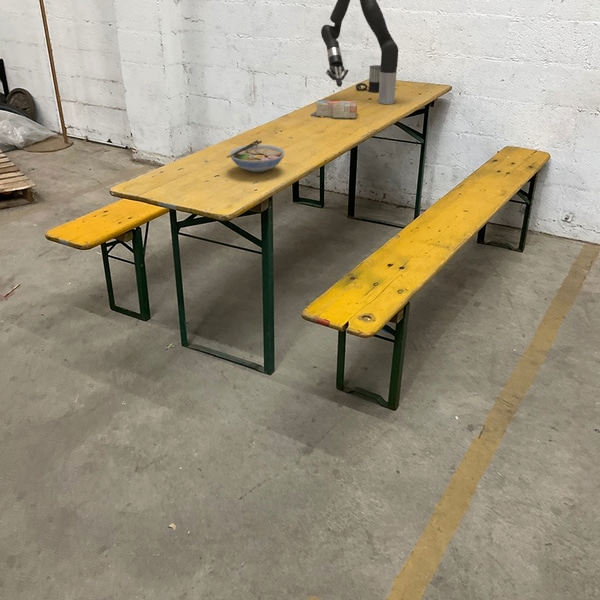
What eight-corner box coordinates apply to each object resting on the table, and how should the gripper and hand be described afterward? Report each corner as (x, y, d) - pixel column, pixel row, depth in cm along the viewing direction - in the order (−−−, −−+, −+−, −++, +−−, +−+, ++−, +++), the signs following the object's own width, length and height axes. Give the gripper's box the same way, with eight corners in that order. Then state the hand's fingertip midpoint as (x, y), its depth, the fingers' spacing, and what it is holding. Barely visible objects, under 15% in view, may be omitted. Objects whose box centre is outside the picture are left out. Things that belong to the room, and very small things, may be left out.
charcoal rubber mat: (316, 112, 343) (316, 111, 342) (352, 115, 335) (352, 114, 335) (310, 115, 335) (310, 114, 335) (347, 119, 328) (347, 118, 328)
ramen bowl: (265, 183, 243) (264, 162, 239) (217, 174, 253) (216, 154, 249) (296, 165, 262) (296, 146, 258) (251, 157, 272) (250, 139, 268)
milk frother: (384, 92, 386) (386, 67, 378) (360, 93, 383) (361, 68, 376) (377, 87, 398) (379, 63, 390) (354, 89, 395) (354, 64, 388)
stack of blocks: (317, 111, 341) (315, 117, 330) (318, 100, 338) (315, 105, 327) (357, 112, 339) (355, 118, 328) (357, 101, 335) (356, 106, 325)
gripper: (325, 54, 341) (330, 82, 337) (348, 54, 344) (353, 81, 340) (321, 62, 348) (326, 89, 344) (344, 62, 351) (349, 89, 347)
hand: (339, 85), depth 342 cm, fingers closed
